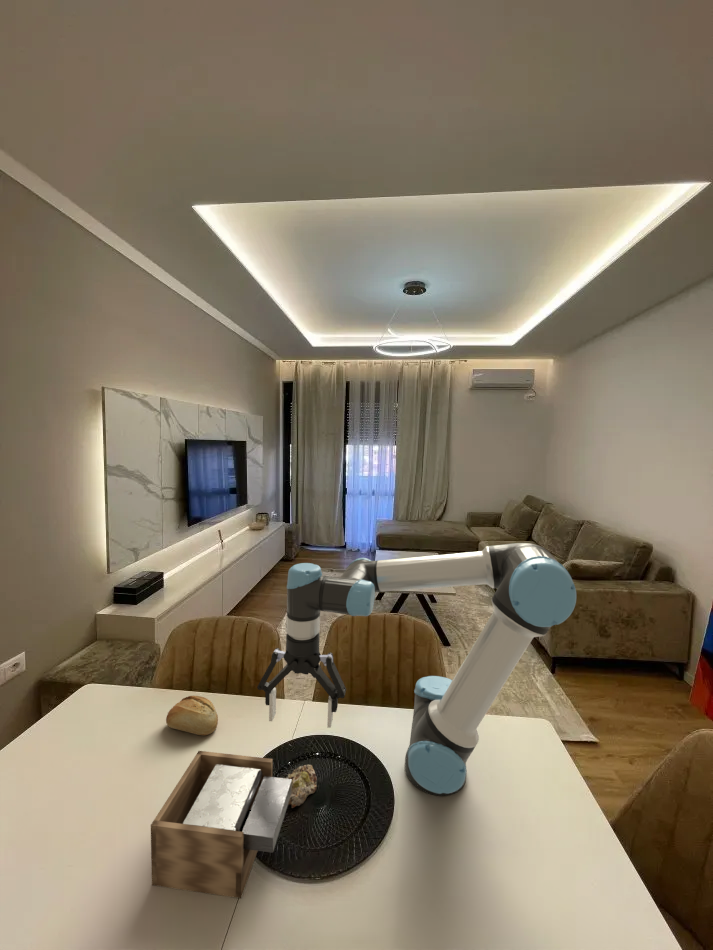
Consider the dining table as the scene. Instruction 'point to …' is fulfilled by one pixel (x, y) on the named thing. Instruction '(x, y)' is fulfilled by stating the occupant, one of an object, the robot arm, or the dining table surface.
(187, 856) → the wooden box
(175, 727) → the bread roll
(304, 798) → the mineral rock
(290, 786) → the trapdoor
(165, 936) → the dining table surface
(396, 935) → the dining table surface
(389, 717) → the dining table surface
